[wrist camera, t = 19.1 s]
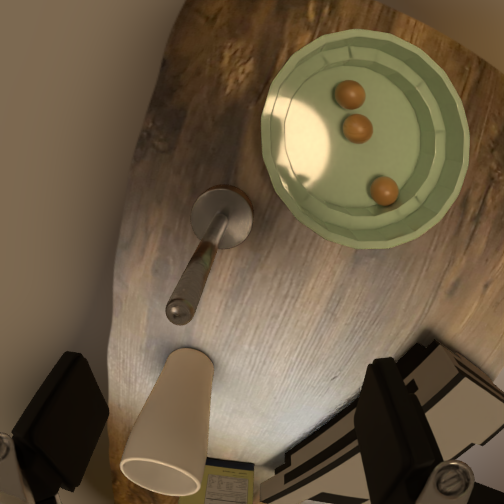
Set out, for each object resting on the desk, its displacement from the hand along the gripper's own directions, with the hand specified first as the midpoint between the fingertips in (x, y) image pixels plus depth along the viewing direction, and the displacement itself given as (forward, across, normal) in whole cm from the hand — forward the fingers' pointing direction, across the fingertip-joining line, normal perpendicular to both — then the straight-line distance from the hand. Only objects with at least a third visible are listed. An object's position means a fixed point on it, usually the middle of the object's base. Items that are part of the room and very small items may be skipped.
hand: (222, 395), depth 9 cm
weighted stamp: (+19, +2, -1) cm, 19 cm away
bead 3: (+17, -11, -3) cm, 21 cm away
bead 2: (+18, -9, -8) cm, 21 cm away
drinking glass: (+19, +7, +16) cm, 26 cm away
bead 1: (+18, -8, -10) cm, 22 cm away
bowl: (+19, -9, -7) cm, 22 cm away
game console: (+19, -18, +31) cm, 40 cm away
